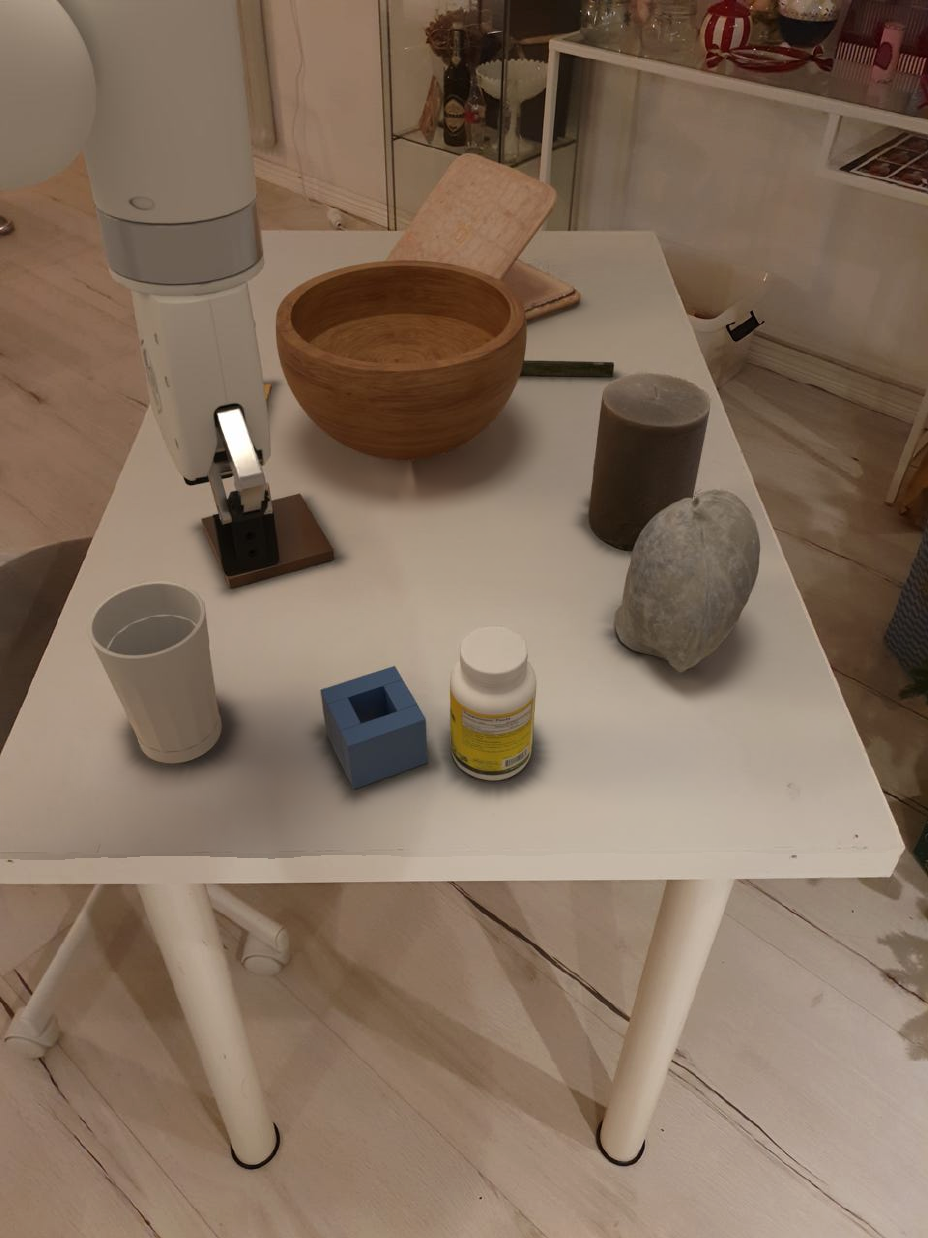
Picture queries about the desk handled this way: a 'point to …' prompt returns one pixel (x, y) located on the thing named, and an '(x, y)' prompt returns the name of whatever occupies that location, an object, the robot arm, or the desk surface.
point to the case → (487, 229)
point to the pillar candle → (645, 452)
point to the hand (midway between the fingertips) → (229, 521)
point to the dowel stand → (284, 541)
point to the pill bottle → (492, 704)
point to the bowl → (402, 354)
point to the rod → (567, 368)
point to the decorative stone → (689, 578)
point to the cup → (160, 667)
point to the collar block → (374, 726)
